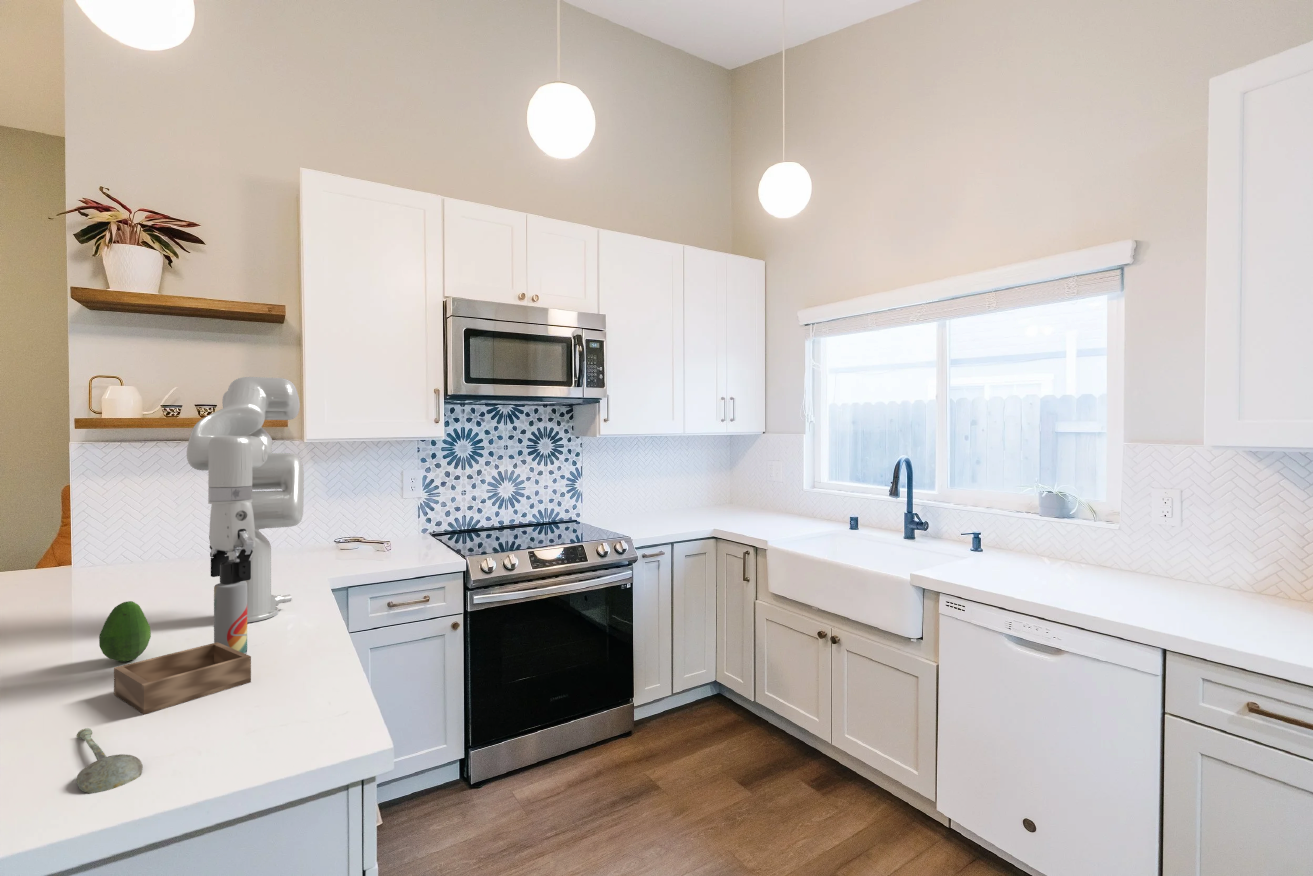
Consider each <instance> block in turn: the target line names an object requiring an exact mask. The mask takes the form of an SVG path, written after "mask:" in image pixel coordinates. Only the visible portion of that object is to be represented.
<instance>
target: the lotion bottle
mask: <svg viewBox="0 0 1313 876" xmlns="http://www.w3.org/2000/svg"><path fill="white" fill-rule="evenodd" d="M232 562H235V561H234V559H231V560H228V561H223V562H221V563H220V576H219V583H217V584H215V585H214V586H213V589H214V590H213V643H216V642H218V643H221V644H223V645H225V646H228V647H230V648H232V649H235V650H237V651H239V652H242V653H244V654H247V655H248V623H247V582H246V581H241V582H232Z"/></svg>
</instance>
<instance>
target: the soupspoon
mask: <svg viewBox="0 0 1313 876" xmlns="http://www.w3.org/2000/svg"><path fill="white" fill-rule="evenodd" d="M92 735H93V730H92V729H91V728H89V727H87V728H83V729H80V730H78V732H77V733H76V735H75V736H76V738H77V739H82V740H83V741H85V742H86V744H87V745H88V747H89V748H90V749H91V751H92V753H93V754H94V757H95V759H96V761H93V762H91V763H90V764H88V765H86V766H85V767H83V769H81V770H80V771H79V772H78V773H77V776H76V778H75V780H76V783H77V787H78V788H79V790H80V791H82V792H85V793H88V794H97V793H103V792H106V791H110V790H113V789H116V788H119V787H122V786H124V785H126V784H129V783H131V782H133V781H134V780H137V779H139V778H140V777H141V775H142V773H143V763H142V760H140V758H138V757H137V756H134V755H131V754H124V753H123V754H122V753H121V754H112V755H109V756H107V755H106V754H105V752H104V751H103V749H102V748H101V747H100V746H99V745H98V743H96V742H95V741H94V740H93V738H92Z"/></svg>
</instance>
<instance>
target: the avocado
mask: <svg viewBox="0 0 1313 876" xmlns="http://www.w3.org/2000/svg"><path fill="white" fill-rule="evenodd" d="M151 633H152V632H151V626H150V623H149V621H148V619H147V617H146V615H145V613H144V612H143V609H142V608H141V606H140V605H139V604H138V603H136V602H135V601H134V600H133V601H132V600H130V601H129V600H128V601H123V602H121V603H119V604H117V605H116V606H115V607H114V608H113V609H112V610H111V612H109V614H108V616H107V618H106V619H105V622H104V623H103V626H102V629H101V631H100V632H99V637H98V642H99V644H98V645H99V648H100V650H101V653H102V654H103V655H104V656H105V657H106V658H108V659H110V660H112V661H117V662H130V661H132V660H133V661H134V660H136V659H137V658H139V656H141V655H142V654H143V653H144V652H145V650H146V648H148V646H149V642H150V640H151V637H152V636H151V635H152V634H151Z"/></svg>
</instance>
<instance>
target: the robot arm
mask: <svg viewBox="0 0 1313 876" xmlns="http://www.w3.org/2000/svg"><path fill="white" fill-rule="evenodd" d="M300 406H301V404H300V397H299V393H298V390H297V387H296V386H295V384H294V383H293V382H292V381H291V380H289V379H287V378H283V377H265V376H263V377H261V376H259V377H258V376H243V377H238V378H236V379H234V380H233V381H232V382H231V383H230V385H228V389H227V391H225V392H224V394H223V395H222V408H221V409H219V410H216V411H214V412H212V413H210V414H209V415H207V416H204V417H203V418H201V419H200V420H198V421H197V422H196V424H194V426H193V428H192V430H191V434H190V436H189V440H188V442H187V447H186V459H187V463H188V464H189V465H190V467H192V468H193V469H194V470H197V471H202V472H203V471H205V472H206V471H208V475H207V476H208V477H207V479H208V480H207V481H208V482H207V483H208V484H207V485H208V490H207V491H208V496H207V497H208V500H207V502H208V503H207V504H209V505H211V507H210V513H209V514H210V517H209V535H208V539H209V546H208V547H209V549H210V552H209V556H210V577H212V578H215V577H216V578H217V577H220V563H221V562H223V561H228V560H231V559H234V561H235V562H232V582H241V581H246V582H247V624H248V623H253V622H259V621H263V620H267V619H269V618H272V617H275V616H277V614H278V613H279V607H277V606H279V605H280V604H286V603H291V602H292V601H293V599H292V595H291V594H285V595H281V594H280V595H274V594H272V546H271V543H270V541H269V539H268V538H267V537H266V536H265V535H264V534H263V533H262V532H261V531H260V530H265V529H276V528H277V529H278V528H279V529H280V528H289V527H290V528H291V527H295V526H298V525H299V524H300V523H301V522H302V519H303V516H304V499H305V498H304V489H305V487H304V486H305V483H304V482H305V481H304V480H305V474H304V472H305V471H304V464H303V461H302V459H301V457H300V456H299V455H297V454H294V453H289V452H288V453H287V452H285V453H283V452H281V453H280V452H278V453H276V452H275V453H274V452H273V450H272V449H273V439H272V437H271V436H270V435H271V434H269V433H268V432H267V431H266V429H264V428H263V425H264V423H265V421H273V420H274V421H290V420H294V419H296V418H297V417H298V415H299V413H300V408H301V407H300Z"/></svg>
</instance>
